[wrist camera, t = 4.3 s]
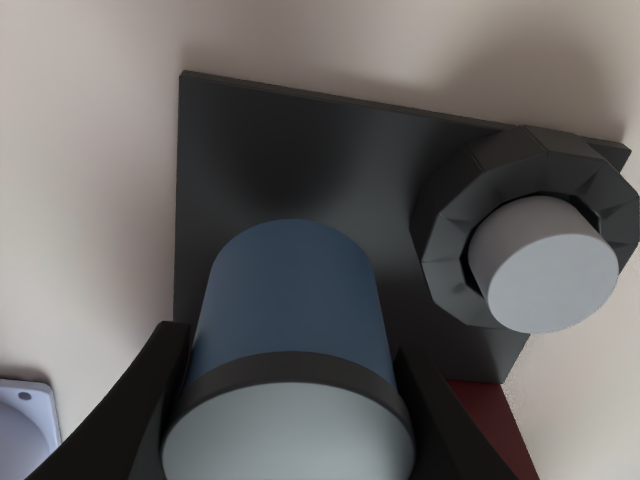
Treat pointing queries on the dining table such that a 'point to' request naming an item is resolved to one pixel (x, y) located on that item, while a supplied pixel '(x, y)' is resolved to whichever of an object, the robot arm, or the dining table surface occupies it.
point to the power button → (541, 265)
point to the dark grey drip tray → (382, 200)
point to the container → (289, 367)
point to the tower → (494, 423)
